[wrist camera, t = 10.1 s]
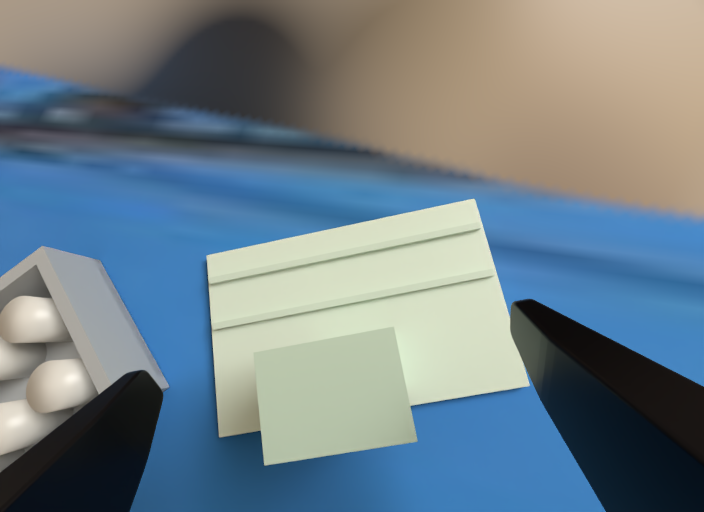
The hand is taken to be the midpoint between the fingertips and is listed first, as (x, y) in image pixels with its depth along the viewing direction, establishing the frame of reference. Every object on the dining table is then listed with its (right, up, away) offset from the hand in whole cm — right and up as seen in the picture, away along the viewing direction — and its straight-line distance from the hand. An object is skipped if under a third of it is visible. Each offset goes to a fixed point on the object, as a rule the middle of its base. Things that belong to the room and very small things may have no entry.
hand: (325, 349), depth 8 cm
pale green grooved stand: (+1, -1, +8) cm, 8 cm away
